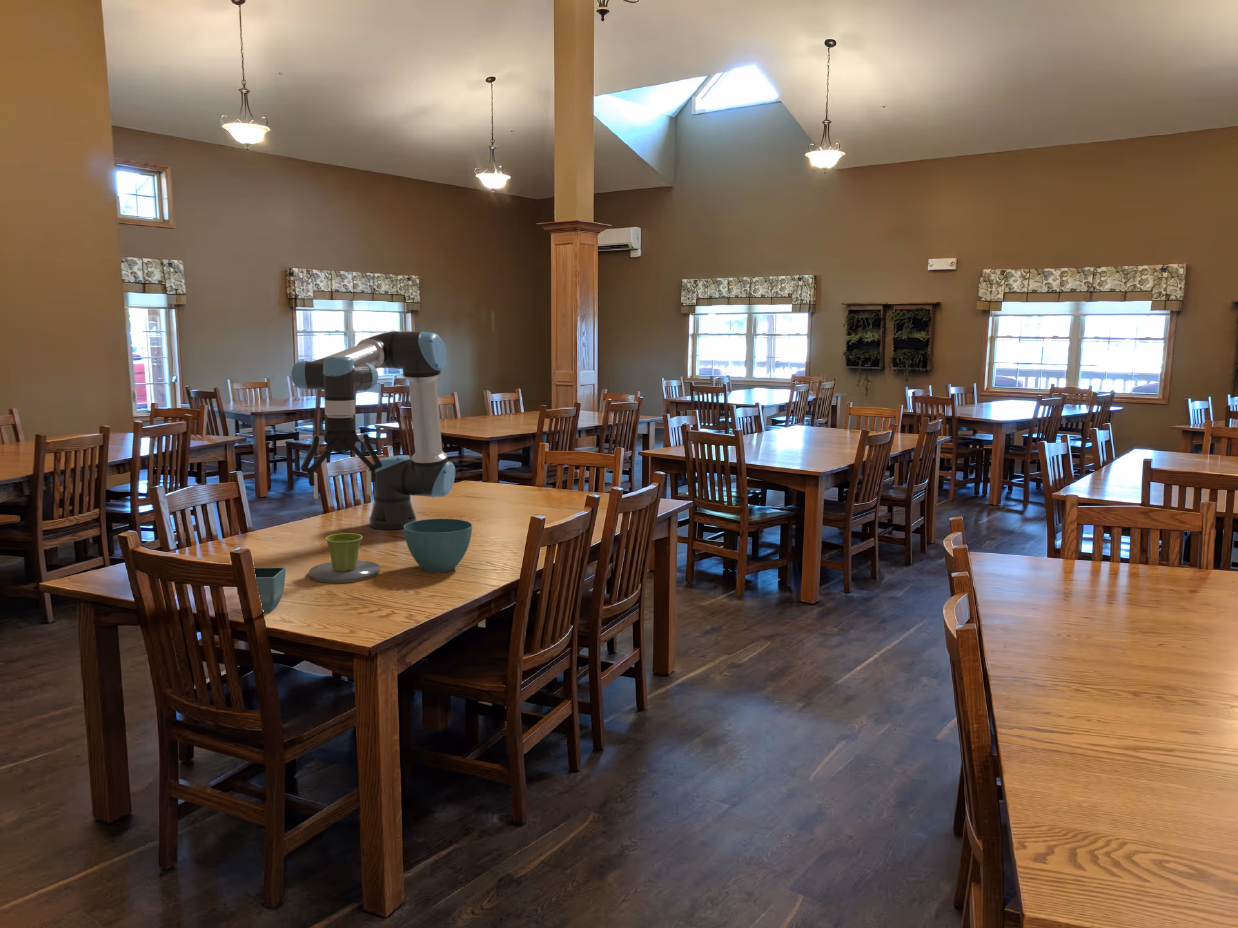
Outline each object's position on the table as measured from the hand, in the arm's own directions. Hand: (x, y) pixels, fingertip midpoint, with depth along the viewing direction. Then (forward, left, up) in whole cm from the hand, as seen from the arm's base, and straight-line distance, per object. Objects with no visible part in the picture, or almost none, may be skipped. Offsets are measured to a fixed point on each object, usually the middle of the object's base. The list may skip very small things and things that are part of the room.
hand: (342, 496), depth 220 cm
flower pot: (+22, +24, -21) cm, 39 cm away
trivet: (0, +1, -21) cm, 21 cm away
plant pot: (0, +1, -20) cm, 20 cm away
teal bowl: (-24, +6, -21) cm, 32 cm away
